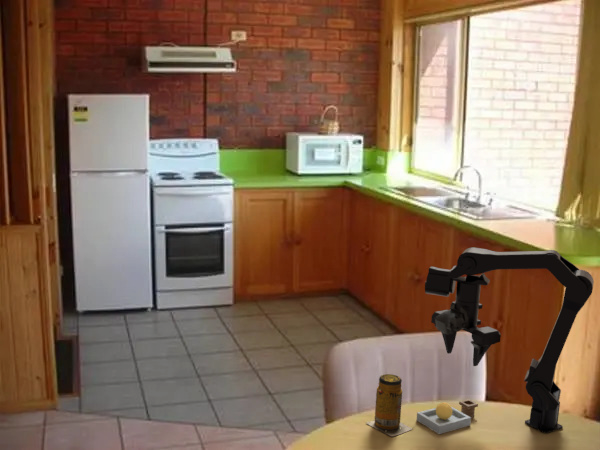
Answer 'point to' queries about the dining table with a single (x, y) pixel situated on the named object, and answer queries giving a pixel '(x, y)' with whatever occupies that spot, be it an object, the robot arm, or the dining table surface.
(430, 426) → the tray
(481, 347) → the robot arm
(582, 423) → the dining table surface
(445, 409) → the ball
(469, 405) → the egg cup
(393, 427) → the condiment
